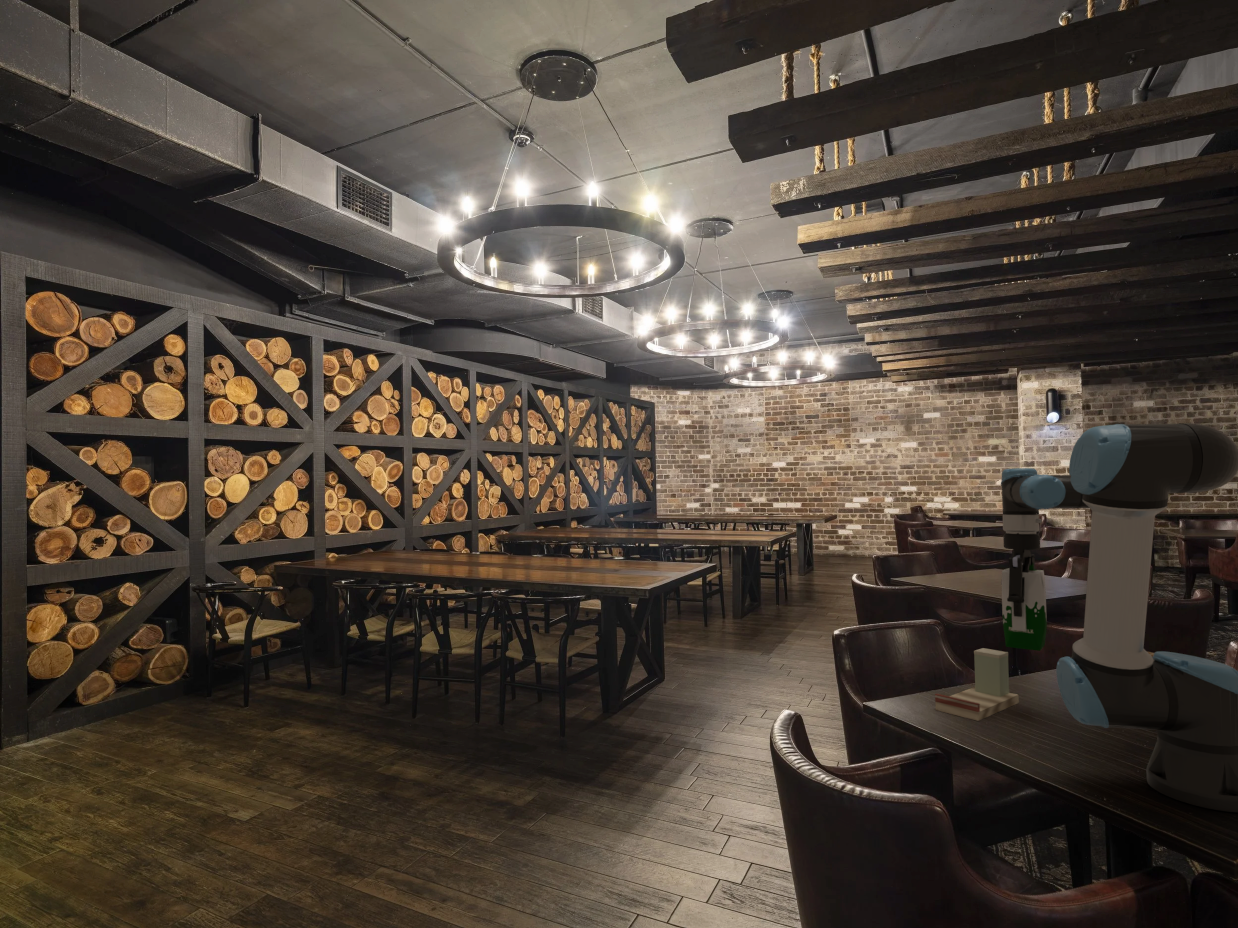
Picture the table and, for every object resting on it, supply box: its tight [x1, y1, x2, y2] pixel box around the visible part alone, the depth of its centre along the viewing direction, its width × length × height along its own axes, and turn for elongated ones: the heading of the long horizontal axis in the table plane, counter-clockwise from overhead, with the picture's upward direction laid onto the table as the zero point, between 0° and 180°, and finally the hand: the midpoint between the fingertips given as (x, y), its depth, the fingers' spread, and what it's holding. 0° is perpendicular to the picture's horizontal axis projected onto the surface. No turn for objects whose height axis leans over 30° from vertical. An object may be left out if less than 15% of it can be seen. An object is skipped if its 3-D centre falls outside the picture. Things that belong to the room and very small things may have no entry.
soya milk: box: [1000, 563, 1048, 652], centre depth 158 cm, size 9×9×20 cm
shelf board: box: [934, 686, 1020, 722], centre depth 163 cm, size 22×10×4 cm, turn 128°
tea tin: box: [973, 647, 1010, 697], centre depth 168 cm, size 5×6×10 cm
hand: (1024, 627), depth 157 cm, fingers closed on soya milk, 9 cm apart
